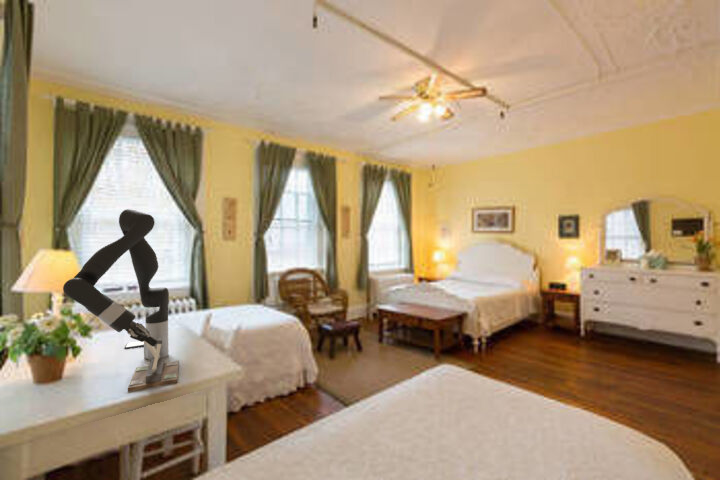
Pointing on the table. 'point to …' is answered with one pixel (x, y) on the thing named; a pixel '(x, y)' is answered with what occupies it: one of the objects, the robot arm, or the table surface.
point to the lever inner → (152, 349)
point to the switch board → (154, 375)
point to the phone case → (134, 345)
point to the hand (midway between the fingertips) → (155, 344)
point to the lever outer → (157, 354)
